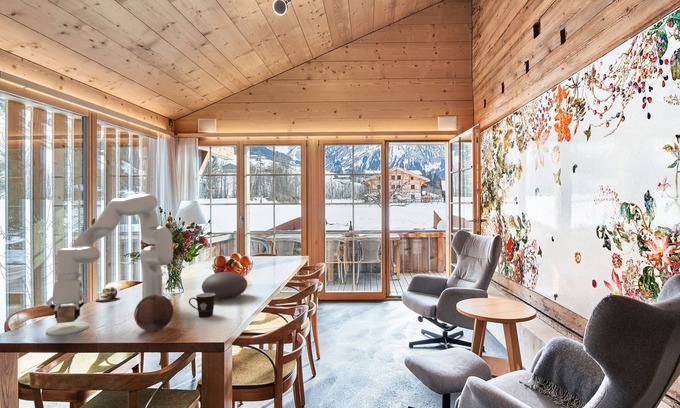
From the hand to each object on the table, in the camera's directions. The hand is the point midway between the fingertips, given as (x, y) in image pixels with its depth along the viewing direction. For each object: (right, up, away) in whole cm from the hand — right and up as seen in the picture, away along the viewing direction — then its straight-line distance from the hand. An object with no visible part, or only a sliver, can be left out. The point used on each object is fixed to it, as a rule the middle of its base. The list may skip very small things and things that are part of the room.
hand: (67, 318), depth 166 cm
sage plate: (0, -5, 0) cm, 5 cm away
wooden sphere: (+38, -5, -2) cm, 38 cm away
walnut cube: (0, -1, 0) cm, 1 cm away
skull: (-15, -6, +53) cm, 56 cm away
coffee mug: (+51, -5, +20) cm, 55 cm away
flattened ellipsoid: (+51, -5, +54) cm, 75 cm away
